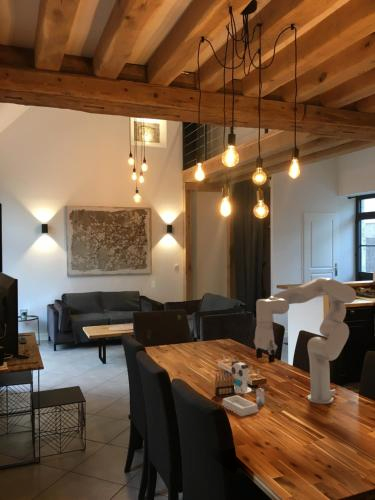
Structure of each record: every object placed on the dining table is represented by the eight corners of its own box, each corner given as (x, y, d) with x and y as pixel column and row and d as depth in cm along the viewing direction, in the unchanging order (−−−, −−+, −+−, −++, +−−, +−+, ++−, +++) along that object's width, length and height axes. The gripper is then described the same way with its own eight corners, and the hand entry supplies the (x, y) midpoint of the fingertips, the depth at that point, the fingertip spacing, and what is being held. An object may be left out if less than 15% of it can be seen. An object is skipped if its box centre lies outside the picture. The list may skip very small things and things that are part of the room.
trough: (238, 401, 218) (238, 395, 218) (258, 411, 204) (258, 404, 204) (222, 405, 213) (221, 398, 213) (241, 416, 199) (241, 409, 199)
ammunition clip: (233, 393, 230) (233, 371, 230) (235, 394, 228) (234, 372, 228) (214, 395, 228) (214, 373, 228) (215, 396, 226) (215, 374, 226)
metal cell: (261, 402, 216) (260, 386, 216) (266, 404, 213) (265, 388, 212) (254, 404, 214) (254, 388, 214) (259, 406, 211) (259, 390, 211)
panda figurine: (226, 388, 238) (225, 361, 238) (243, 385, 244) (242, 358, 244) (238, 395, 228) (237, 366, 228) (255, 391, 233) (254, 363, 233)
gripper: (247, 323, 213) (248, 357, 214) (269, 328, 198) (270, 365, 198) (260, 321, 217) (260, 355, 217) (282, 326, 201) (283, 363, 201)
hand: (265, 360), depth 207 cm, fingers open, 9 cm apart
